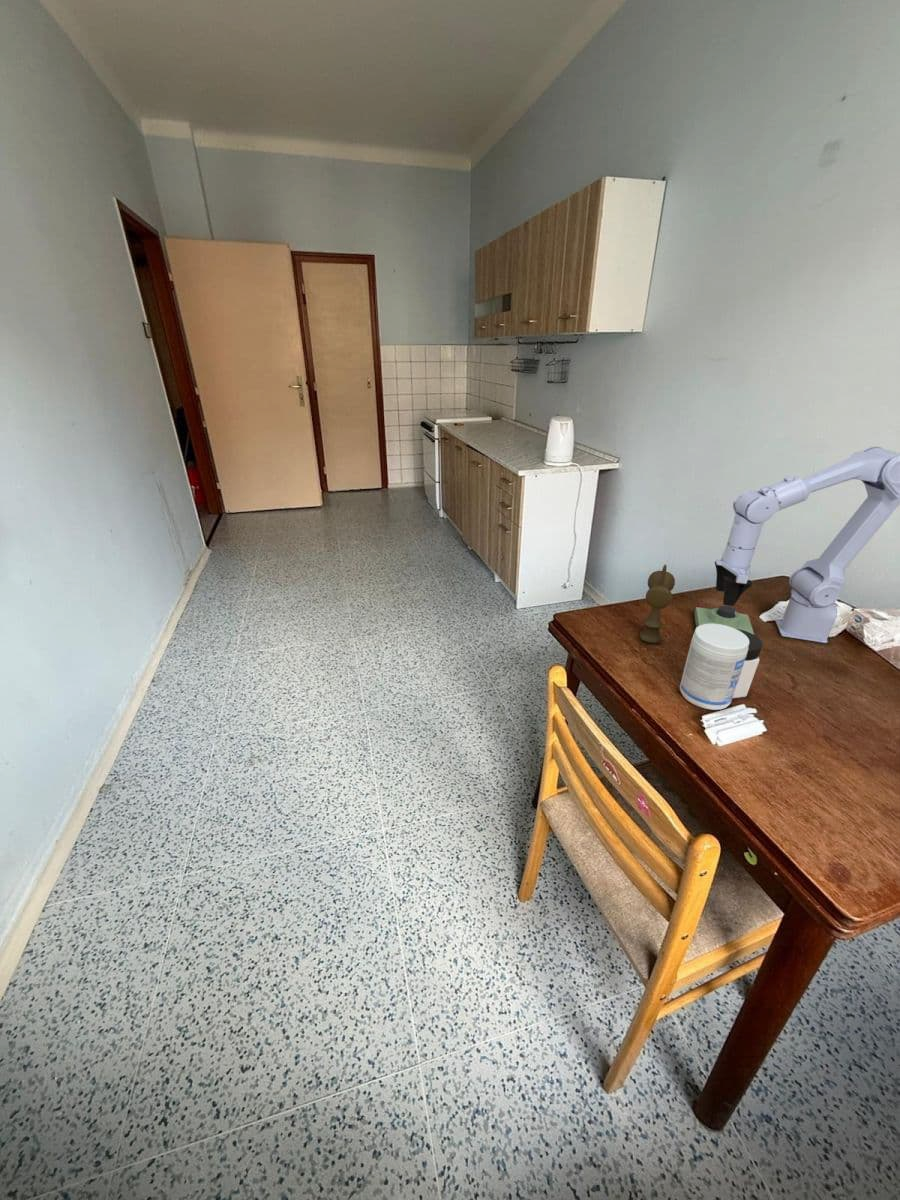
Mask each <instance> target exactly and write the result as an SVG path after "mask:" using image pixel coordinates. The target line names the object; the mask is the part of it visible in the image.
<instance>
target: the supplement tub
mask: <svg viewBox="0 0 900 1200" xmlns="http://www.w3.org/2000/svg"><path fill="white" fill-rule="evenodd" d="M748 646H749V639H748V637H747V636H746V635H745V634H744V633H742V632H741V631H739V630H737V629H735V628H732V627H729V626H726V625H721V624H703V625H700V626H698V627H697V628H696V627H695V630H694V633H693V635H692V638H691V641H690V645H689V649H688V652H687V657H686V661H685V664H684V668H683V673H682V677H681V680H680V684H679V691H680V693H681V695H682V697H683V698H684V699H685V700H686V701H688V702H689V703H690V704H692V705H694V706H696V707H698V708H702V709H706V710H712V711H717V710H723V709H725V708H727V707H729V706H730V705H731V703H732V701H733V699H734V698H733V695H734V692H735V689H736V686H737V683H738V680H739V677H740V674H741V671H742V668H743V665H744V662H745V659H746V655H747V652H748Z"/></svg>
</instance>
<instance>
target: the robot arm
mask: <svg viewBox="0 0 900 1200" xmlns="http://www.w3.org/2000/svg"><path fill="white" fill-rule="evenodd" d="M852 480H857V481H861V482H862V484H863V485H864V489H865V491H866V495H867V497H866V498H865V499H864V500H863V502H862V504H860V505H859V507H858V508H857V509H856V511H855V512H854V513H853V515H852V516H851V517H850V518H849V519H848V521H847V522H846V523H845V524H844V525H843V527H842V528H841V530H840V531H839V532H838V534H837V535H836V536H835V537H834V539H833V540H832V541H831V542H830V543H829V545H828V546H827V547H826V549H824V550H823V552H822V554H821V555H820V556H819V557H817V558H814V559H809V560H807V561H806V562H805V563H804V564H803V565H802V566H801V567H800V568H798V569H797V570H795V571H793V573H792V574H791V575H790V577H789V580H788V585H789V587H790V588H791V591H790V594H791V595H790V597H789V600H788V603H787V605H786V609H785V611H784V613H783V617H782V619H775V625H776V626H777V628H778V631H779V633H780V635H781V637H785V638H790V639H798V640H803V641H810V642H815V643H823V644H827V643H828V642H829V641H828V638H829V636H830V634H831V632H832V630H833V627H834V625H835V622H836V620H837V616H838V606H837V604H836V603H835V602H837V601H838V599H839V598H840V597H841V593H842V591H843V588H844V587H845V586H846V585H847V582H848V581H847V576H846V573H845V571H846V569H847V568H848V567H849V566H850V565H851V563H852V562H853V561H854V560H855V558H856V557H857V556H858V555H859V554H860V552H861V551H862V550H863V549H864V547H865V546H866V545H867V544H868V543H869V542H870V541H871V539H872V538H873V537H874V536H875V534H876V533H877V532H878V531H879V530H880V528H881V527H882V526H883V525H884V524H885V522H887V520H889V518H890V517H891V515H892V514H893V513H894V512H895V510H897V508H898V507H899V506H900V452H897V451H893V450H889V449H885V448H883V447H881V446H874V445H873V446H869V447H866V448H864V449H863V450H859V451H855V452H853V453H852V454H851V455H850V456H849V457H848V458H846V459H844V460H841V461H839V462H836V463H835V464H833V465H830V466H827V467H826V468H824V469H822V470H819V471H817V472H815V473H813V474H810V475H808V476H806V477H804V478H803V477H800V476H798V475H795V476H791V475H788V476H785V477H784V478H783V480H781V481H779V482H777V483H774V484H771V485H769V486H762V487H761V488H759V490H758V491H756V490H748V491H747V490H746V491H745V492H743V493H741V494H740V495H739V496H738V497H737V499H736V500H735V501H733V503H732V509H733V511H734V518H733V522H732V526H731V529H730V531H729V536H728V539H727V541H726V546H725V549H724V550H723V552H722V555H721V559H716V560H715V561H714V566H715V571H716V581H715V589H716V591H717V592H723V593H724V594H723V601H722V602H723V603H722V604H723V606H729V607H734V606H735V605H736V603H737V602H738V601H739V599H740V597H741V596H742V595H743V593H744V592H746V591H747V590H748V589H749V588H751V587H752V585H753V581H752V580H751V579H749V572H750V570H751V562H752V559H753V556H754V554H755V550H756V548H757V545H758V541H759V539H760V536H761V532H762V530H763V527H764V523H766V522H767V521H769V520H770V519H771V518H772V517H773V516H774V515H775V514H776V513H778V512H780V511H782V510H785V509H787V508H790V507H792V506H795V505H797V504H800V503H802V502H803V503H804V502H805V501H807V500H808V498H809V497H810V496H811V495H810V494H812V493H814V492H817V491H821V490H823V489H827V488H830V487H832V486H836V485H839V484H842V483H845V482H848V481H852Z"/></svg>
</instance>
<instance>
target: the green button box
mask: <svg viewBox="0 0 900 1200" xmlns="http://www.w3.org/2000/svg"><path fill="white" fill-rule="evenodd" d="M718 609H719V607H714V608H704V607H700V606H699V607H698V606H695V610H694V621H695V629H696V628H697V627H698V626H700V625H703V624H721V625H726V626H729V627H732V628H735V629H740V630H744V631H747V632H750V633H752V634H754V635H755V633H754V630H753V629H754V628H753V626H752V623H751V620H750V616H749V615H748V614H745V613H740V612H739V613H738V612H737V611H736V610H735V614H734V617H733V618H724V617H722V616H719V615H718V614H717V613H718Z"/></svg>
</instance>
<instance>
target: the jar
mask: <svg viewBox="0 0 900 1200" xmlns="http://www.w3.org/2000/svg"><path fill="white" fill-rule="evenodd" d="M737 630H739V631H741V632H742V633H744V634H745V635H746V636H747V637H748V639H749V646H748V652H747V655H746V659H745V662H744V665H743V668H742V671H741V674H740V677H739V680H738V683H737V686H736V689H735V692H734V695H733V698H732V699H739V698H746V697H747V696H748V693H749V690H750V688H751V685H752V682H753V680H754V676H755V674H756V671H757V668H758V666H759V663H760V654H761V651H762V648H763V642H762V640H761V638H760V637H758V636H757V635H755V633H754V634H752V633H750V632H747V631H744V630H740V629H737Z"/></svg>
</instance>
